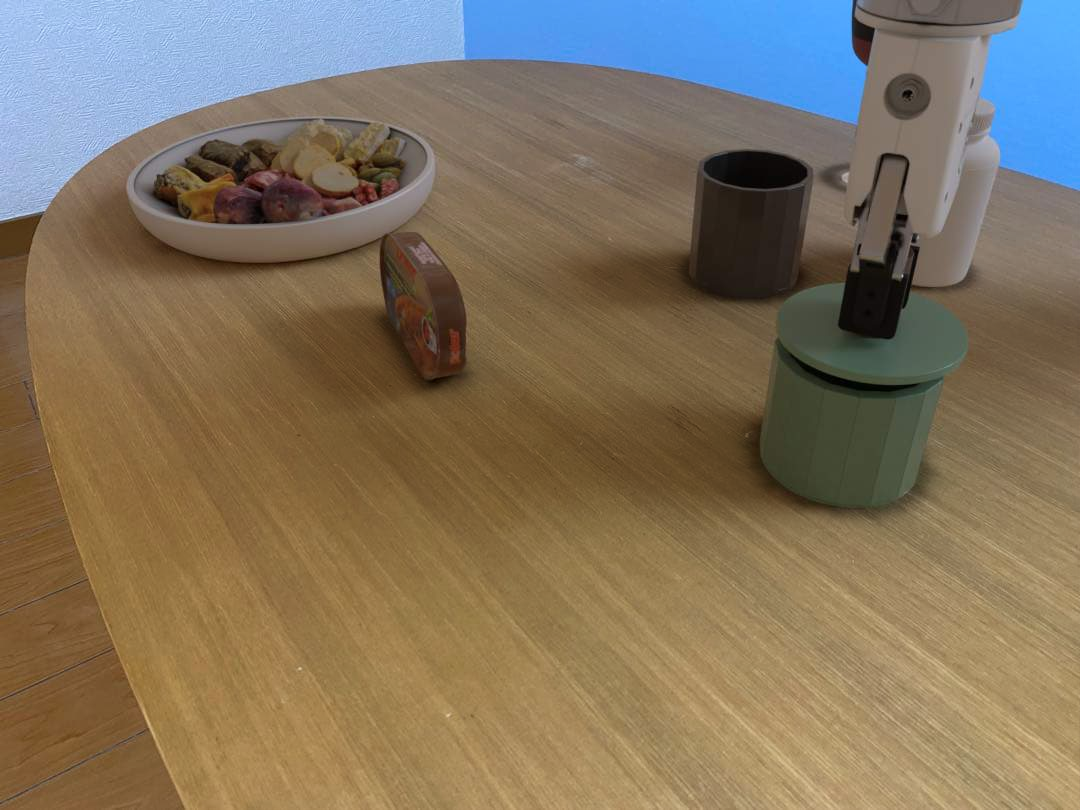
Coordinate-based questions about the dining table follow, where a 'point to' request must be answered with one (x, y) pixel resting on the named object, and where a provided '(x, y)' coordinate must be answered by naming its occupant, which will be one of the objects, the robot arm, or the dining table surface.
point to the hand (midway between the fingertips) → (872, 315)
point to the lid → (872, 338)
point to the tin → (423, 304)
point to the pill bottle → (962, 209)
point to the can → (843, 433)
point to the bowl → (282, 188)
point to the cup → (749, 222)
